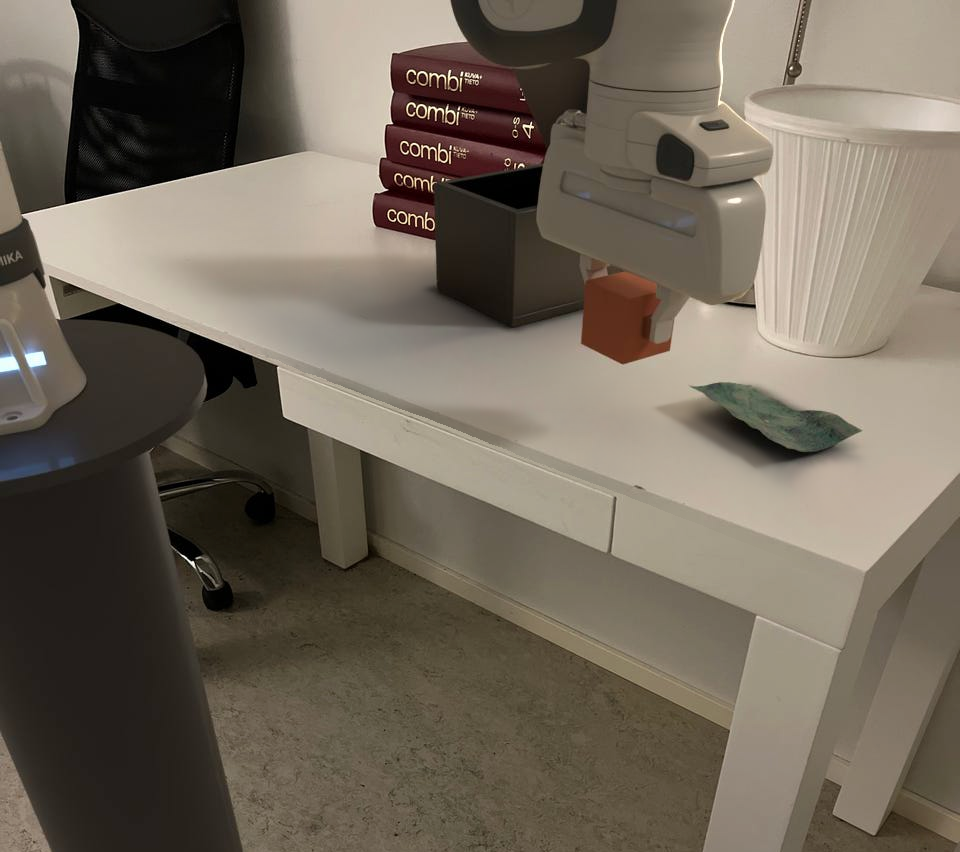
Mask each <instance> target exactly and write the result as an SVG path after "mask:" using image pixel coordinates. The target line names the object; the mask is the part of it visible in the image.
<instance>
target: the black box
mask: <svg viewBox="0 0 960 852" xmlns="http://www.w3.org/2000/svg"><path fill="white" fill-rule="evenodd" d="M543 164H544V163H538V164H534V165H528V166H522V167H516V168H510V169H505V170H500V171H492V172H488V173H482V174H476V175H475V174H474V175H470V176H464V177H459V178H453V179H448V180H447V179H446V180H442V181H436V182H435V181H434V182H433V200H434V201H433V202H434V204H433V205H434V235H435V236H434V237H435V238H434V239H435V272H436V273H435V275H436V279H435V280H436V291H439V292H441V293H443V294H445V295H447V296H449V297H451V298H453V299H455V300H457V301H459V302H460V303H463V304H465V305H466V306H468V307H471V308H473V309H475V310H476V311H479V312H481V313H482V314H485V315H487V316H489V317H491V318H493V319H496V320H497V321H499V322H501V323H502V324H505V325H507V326H509V327H511V328H516V327H520V326H524V325H527V324H532V323H535V322H538V321H543V320H545V319H550V318H554V317H557V316H560V315H564V314H569V313H571V312H572V313H573V312H576V311H580V310H584V298H585V283H584V279H583V276H582V273H581V270H580V266H579V265H580V253H579V252H577V251H574V250H572V249H569V248H567V247H564V246H562V245H559V244H557V243H554V242H552V241H549V240H547V239H545V238H543V237H542V236H541V233H540V231H539V228H538V224H537V206H538V196H539V189H540V182H541V175H542V169H543ZM606 267H607V273H608V275H612V274H616V273H620V272H624V270H621V269H619V268H616V267H614V266H611V265H610V266H606Z"/></svg>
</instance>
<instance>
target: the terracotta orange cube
mask: <svg viewBox="0 0 960 852" xmlns="http://www.w3.org/2000/svg"><path fill="white" fill-rule="evenodd" d="M656 288H657V284H656V283H654V282H651V281H649V280H646V279H644V278H641V277H639V276H636V275H634V274H631V273H629V272H626V271H624V272H620V273H616V274H612V275H607V276H603V277H599V278H594V279H590V280H586V286H585V298H584V309H582V310H583V312H582V322H581V323H582V324H581V334H580V335H581V336H580V344H581V345H582V346H584V347H586V348H588V349H590V350H592V351H594V352H596V353H598V354H600V355H603V356H604V357H606V358H609V359H610V360H613V361H614V362H617V363H618V364H621V365H627V364H630V363H633V362H637V361H640V360H644V359H647V358H650V357H654V356H657V355H660V354H661V355H662V354H664V353H667V352H670V351H671V346H672V339H673V331H674V324H675V318H676V317H674V320H673V326H672V333H671V337H670V339H669V340H668V341H666V342H663V343H659V344H655V343H653V342H651V341H649V340H647V339H645V338H643V337H642V329H643V318H644V316H647V315H650V314H654V312H655V310H656V308H657V307H658V305H659V303H660V301H661V299H658V298H656Z"/></svg>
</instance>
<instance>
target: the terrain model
mask: <svg viewBox="0 0 960 852" xmlns="http://www.w3.org/2000/svg"><path fill="white" fill-rule="evenodd" d="M688 387H690V388H692V389H693V390H696V391H697V392H700V393H702V394H704V395H705V396H706V397H707V398H708V399H709V400H710V401H713V402H714V403H715V404H718V405H720V406H722V407H724V409H726V410H727V411H728V412H729V413H730V414H731V415H732V416H733V417H735V418H736V419H738V420H740V421H744V422H745V423H746V425H748V426H749V427H751V428H752V429H757V430H758V431H760V432H761V434H763V435H764V436H765V437H766V438H767V439H769V440H771V441H773V442H774V443H776V444H779V445H781V446H783V447H785V448H786V449H789V450H791V449H792V450H796V451H798V452H802V453H809V452H818V451H823V450H825V449H828V448H831V447H833V446H834V445H837V444H839V443H841V442H843V441H845V440H847V439H849V438H851V437H852V436H854V435H856V434H858V433H861V432H863V430H862V429H861V428H858V427H857V426H855V425H853V424H852V423H849V421H846V420H845V419H844V418H843V417H842V416H840V415H838V414H835V413H833V412H830V411H825V410H817V409H816V410H815V409H814V410H813V409H812V410H811V409H805V410H797V409H793V408H790V407H788V405H786V404H785V403H783V402H782V401H780V400H778V399H775V398H774V397H770V396H766V395H765V394H763V393H762V392H761V391H759V390H757V389H756V388H755V387H754V386H753V385H751V384H743V383H737V382H730V381H728V382H724V381H719V382H714V383H713V382H712V383H708V384H706V385H701V386H700V385H699V386H694V385H689V384H688Z"/></svg>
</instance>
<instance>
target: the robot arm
mask: <svg viewBox="0 0 960 852" xmlns="http://www.w3.org/2000/svg"><path fill="white" fill-rule="evenodd" d="M449 1H450V5H451V10H452V13H453V16H454V19H455V21H456V24H457V27H459V30H460V32H461V34H462V36H463V37H464V39H465V40H466V42H467V43H468V44H469V45H470V46H471V48H472V49H474V50H475V51H476V52H477V53H478V54H479V55H480V56H481V57H483V58H484V59H486V60H488V61H490V62H491V63H494V64H496V65H499V66H503V67H506V68H511V69H512V68H516V69H532V68H538V67H542V66H545V65H548V64H550V63H552V62H558V61H563V60H568V59H572V58H580V59H584V60H586V61H587V62H588V63H589V66H590V77H589V78H590V79H589V90H588V103H587V114H584V113H582V112H580V111H578V110H574V109H570V110H566V111H565V112H564V114H563V115H561V116H560V117H559V118H558V119H557V121H556V123H555V124H553V126H552V129H551V139H550V146H549V148H548V150H547V149H546V152H545V156H544V160H543V163H542V164H543V169H542V175H541V182H540V189H539V196H538V206H537V224H538V228H539V231H540V233H541V236H542V237H543V238H545V239H547V240H549V241H552V242H554V243H557V244H559V245H562V246H564V247H567V248H569V249H572V250H574V251H577V252H579V253H580V265H579V266H580V270H581V273H582V276H583V279H584V283H585V286H586V280H590V279H594V278H599V277H603V276H607V275H608V273H607V267H606V266H610V265H611V266H614V267H616V268H619V269H621V270H624V271H626V272H629V273H631V274H634V275H636V276H639V277H641V278H644V279H646V280H649V281H651V282H654V283H656V284H657V288H656V298H658V299H661V301H660V303H659V305H658V307H657V308H656V310H655V312H654V314H650V315H647V316H644V318H643V329H642V337H643V338H645V339H647V340H649V341H651V342H653V343H655V344H659V343H663V342H666V341H668V340H669V339H670V337H671V333H672V326H673V327H674V325H673V320H674V321H675V318H676V317H677V316H678V314H679V313H680V311H681V310H682V309H683V307H684V306H685V305H686V303H687V302H688V300H689V299H690V298H691V299H693V300H695V301H699V302H700V303H703V304H705V305H708V306H717V305H721V304H725V303H729V302H732V301H735V300H739V299H741V298H742V297H743V296H745V295H746V294H747V292H748V291H749V290H750V289H751V288H752V287H753V285H754V283H755V280H756V277H757V273H758V270H759V263H760V257H761V252H762V247H763V240H764V233H765V224H766V213H767V212H766V211H767V206H766V205H767V203H766V196H765V193H764V190H763V187H762V185H761V183H760V182H759V181H758V180H757V179H755V178H759V177H762V176H765V175H767V174H768V173H769V171H770V169H771V167H772V163H773V157H774V146H773V143H772V142H771V140H770V139H769V138H768V137H767V136H765V135H763V134H762V133H761V132H760V131H758V130H757V129H756V128H755V127H753V126H752V125H751V124H749V123H748V122H747V121H745V120H744V119H743V118H742V117H741V116H739V115H738V114H737V113H736V112H735V111H734V110H733V109H732V108H731V107H730V106H729V105H728V104H727V103H725V102H723V101H721V93H722V89H723V88H722V87H723V82H724V81H723V79H724V78H723V77H724V69H723V61H722V47H723V39H724V34H725V30H726V27H727V24H728V22H729V19H730V17H731V15H732V13H733V8H734V5H735V0H449ZM563 121H564V123H562V122H563ZM42 261H43V260H42V258H41V254H40V250H39V247H38V243H37V240H36V236H35V235H34V231H33V230H32V228H31V225H30V223H29V220H28V219H27V218H26V217H24V216H23V215H22V212H21V209H20V206H19V202H18V198H17V195H16V192H15V187H14V184H13V181H12V177H11V173H10V170H9V166H8V162H7V158H6V155H5V152H4V148H3V145H2V141H1V140H0V435H6V434H11V433H17V432H23V431H28V430H33V429H36V428H39V427H41V426H42V425H44V424H45V423H46V422H47V421H48V419H49V418H50V417H51V415H52V414H53V412H54V411H55V410H57V409H58V408H60V407H61V406H63V405H65V404H66V403H68V402H69V401H71V400H72V399H74V398H75V397H76V396H77V395H78V394H79V393H80V392H81V391H82V390H83V389H84V387H85V385H86V381H87V378H86V375H85V373H84V371H83V370H82V368H81V367H80V365H79V364H78V362H77V360H76V358H75V357H74V355H73V353H72V351H71V349H70V347H69V346H68V344H67V342H66V340H65V338H64V335H63V333H62V331H61V329H60V327H59V325H58V322H57V320H58V319H57V317H56V315H55V313H54V311H53V308H52V306H51V302H50V300H49V298H48V294H47V292H46V288H47V287H46V286H47V284H46V283H47V282H46V279H45V275H46V274H45V269H44V266H43V265H44V264H43V262H42ZM674 317H675V318H674ZM672 334H673V333H672Z"/></svg>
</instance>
